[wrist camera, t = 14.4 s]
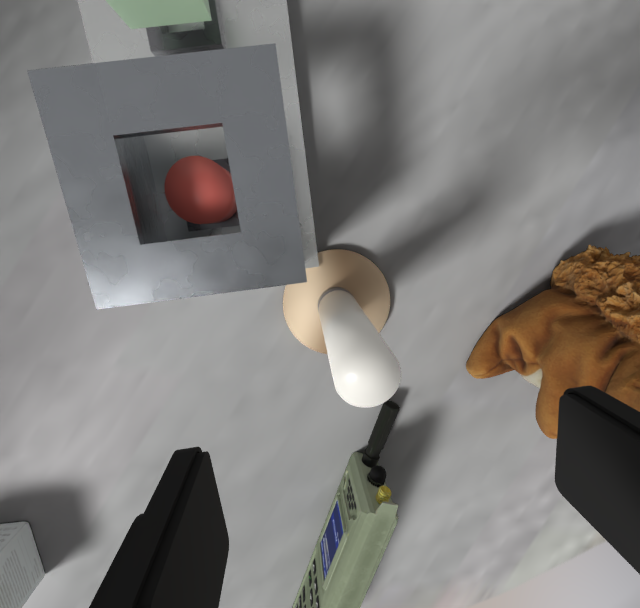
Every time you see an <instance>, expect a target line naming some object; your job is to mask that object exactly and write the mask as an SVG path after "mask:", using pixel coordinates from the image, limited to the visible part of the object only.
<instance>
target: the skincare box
mask: <svg viewBox="0 0 640 608" xmlns="http://www.w3.org/2000/svg"><path fill="white" fill-rule="evenodd" d="M44 576H45V573H44V569H43V565H42V563H41V559H40V556H39V553H38V550H37V547H36V543H35V540H34V537H33V534H32V531H31V528H30V525H29V523H28V522H16V523H5V524H0V608H22V606H23V605H24V604H25V602H26V601H27V599H28V598H29V597H30V595H31V594H32V592H33V591H34V590H35V588H36V587H37V586H38V584H39V583H40V582H41V580H42V579H43V577H44Z"/></svg>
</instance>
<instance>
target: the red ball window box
mask: <svg viewBox="0 0 640 608" xmlns="http://www.w3.org/2000/svg"><path fill="white" fill-rule="evenodd" d="M77 1H78V5H79V9H80V13H81V17H82V21H83V25H84V29H85V33H86V37H87V41H88V45H89V49H90V53H91V57H92V61H93V63H91V64H82V65H73V66H64V67H55V68H45V69H36V70H27V71H28V75H29V78H30V82H31V85H32V89H33V92H34V96H35V99H36V102H37V106H38V109H39V113H40V116H41V120H42V123H43V127H44V130H45V134H46V137H47V140H48V144H49V147H50V151H51V154H52V158H53V161H54V165H55V168H56V172H57V175H58V178H59V182H60V185H61V189H62V192H63V196H64V199H65V203H66V206H67V209H68V213H69V216H70V220H71V223H72V227H73V230H74V234H75V237H76V241H77V244H78V247H79V251H80V254H81V258H82V261H83V265H84V268H85V272H86V275H87V278H88V282H89V285H90V289H91V292H92V296H93V299H94V303H95V306H96V310H97V309H105V308H113V307H120V306H128V305H136V304H143V303H151V302H159V301H166V300H174V299H182V298H189V297H197V296H205V295H212V294H220V293H227V292H235V291H243V290H250V289H258V288H266V287H273V286H281V285H289V284H296V283H304V282H307V277H306V270H305V268H313V267H319V261H318V253H317V245H316V237H315V229H314V221H313V212H312V204H311V196H310V188H309V180H308V172H307V163H306V155H305V147H304V139H303V131H302V122H301V114H300V106H299V98H298V90H297V82H296V73H295V65H294V57H293V49H292V41H291V32H290V24H289V16H288V8H287V0H208V1H209V7H210V13H211V19H212V21H204V22H194V23H185V24H176V25H166V26H157V27H148V28H138V29H130V28H129V26H128V25H127V24H126V23H125V22H124V21H123V20H122V19H121V17H120V16H119V15H118V14H117V13H116V12H115V11H114V9H113V8H112V7H111V6H110V5H109V4H108V3H107V2H106V0H77ZM188 156H202V157H206V158H208V159H210V160H212V161H214V162H215V163H217V164H218V165H220V166H221V167H223V168H224V169H226V170H227V171H229V172H230V173H231V177H232V183H233V189H234V194H235V200H236V206H237V210H236V212H235V213H234V214H233V216H231V217H230V218H229V219H228V220H226V221H223V222H220V223H211V224H194V223H191V222H188V221H186V220H184V219H182V218H181V217H179V216H178V215H177V214H176V213H175V212H174V211H173V210H172V208H171V207H170V205H169V204H168V201H167V199H166V195H165V187H164V185H165V179H166V176H167V173H168V171H169V169H170V168H171V167H172V165H174V164H175V163H176V162H177V161H178V160H180V159H182V158H185V157H188Z"/></svg>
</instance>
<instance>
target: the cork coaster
mask: <svg viewBox="0 0 640 608" xmlns="http://www.w3.org/2000/svg"><path fill="white" fill-rule="evenodd" d="M318 261H319V267H313V268H305V270H306V277H307V282H304V283H296V284H289V285H286V287H285V291H284V296H283V312H284V316H285V319H286V322H287V325H288V327H289V328H290V330H291V332H292V333H293V334H294V336H295V337H296V338H297V339H298V340H299V341H300V342H301V343H303V344H304V345H305V346H307V347H308V348H310V349H312V350H315V351H317V352H320V353H325V354H328V353H327V348H326V344H325V339H324V335H323V330H322V325H321V321H320V316H319V312H318V300H319V298H320V296H321V294H322V293H323V292H324V291H326V290H327V289H329V288H332V287H342V288H344V289H346V290H348V291H349V292H350V293H351V294H352V295H353V297H354V298H355V300H356V301H357V303H358V304H359V305H360V307H361V308H362V310H363V311H364V313H365V314H366V315H367V317H368V318H369V320H370V321H371V323H372V324H373V325H374V327H375V328H376V330H377V331H378V333H379V332H380V331H381V330H382V328H383V326H384V325H385V322H386V320H387V318H388V314H389V310H390V292H389V288H388V284H387V282H386V279H385V277H384V276H383V274H382V272H381V271H380V270H379V269H378V267H377V266H376V265H375V264H374V263H373V262H372V261H370V260H369V259H367V258H366V257H364V256H362V255H360V254H358V253H356V252H353V251H349V250H344V249H330V250H325V251H321V252H318Z"/></svg>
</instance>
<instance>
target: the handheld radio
mask: <svg viewBox="0 0 640 608" xmlns="http://www.w3.org/2000/svg"><path fill="white" fill-rule="evenodd" d="M399 408H400V407H399V406H398V405H397V404H396V403H394V402H392V401H389V400H387V401H386V402H384V403H383V406H382V408H381V411H380V413H379V416H378V419H377V421H376V424H375V426H374V429H373V431H372V434H371V436H370V439H369V441H368V443H369V444H368V447H367V449H366V450H365V452H364V454H363V453H360V452H354V453H353V454H352V455H351V457H350V460H349V462H348V465H347V467H346V470H345V473H344V475H343V478H342V480H341V483H340V485H339V488H338V490H337V493H336V496H335V498H334V501H333V503H332V506H331V508H330V511H329V513H328V516H327V518H326V521H325V524H324V526H323V529H322V531H321V534H320V536H319V539H318V541H317V544H316V547H315V549H314V552H313V555H312V557H311V560H310V562H309V565H308V568H307V570H306V573H305V576H304V578H303V581H302V583H301V586H300V589H299V591H298V594H297V597H296V599H295V602H294V604H293V607H292V608H360V606H361V604H362V602H363V599H364V597H365V595H366V593H367V590H368V588H369V586H370V583H371V581H372V579H373V577H374V574H375V572H376V570H377V567H378V565H379V563H380V561H381V558H382V556H383V554H384V552H385V549H386V547H387V545H388V542H389V540H390V538H391V536H392V533H393V531H394V529H395V527H396V524H397V521H398V516H397V513H396V512H397V509H398V505H397V504H396V503H393V502H392V500H391V497H390V496H391V490H390V489H389V488H388V487H387V486H386V484H385V478H386V471H385V469H384V468H383V467H381V466H379V465H378V460H379V455H380V452H381V450H382V449H383V447H384V445H385V442H386V440H387V438H388V435H389V433H390V430H391V428H392V425H393V423H394V421H395V418H396V416H397V413H398V411H399Z"/></svg>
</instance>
